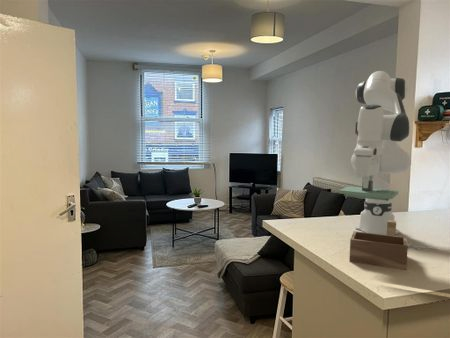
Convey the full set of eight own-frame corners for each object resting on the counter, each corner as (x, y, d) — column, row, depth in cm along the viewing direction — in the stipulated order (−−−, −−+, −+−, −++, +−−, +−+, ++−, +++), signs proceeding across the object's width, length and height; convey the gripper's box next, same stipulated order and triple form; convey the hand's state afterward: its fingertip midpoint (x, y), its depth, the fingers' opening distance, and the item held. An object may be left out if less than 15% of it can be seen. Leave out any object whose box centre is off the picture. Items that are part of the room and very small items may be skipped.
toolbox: (352, 253, 137) (353, 231, 136) (404, 261, 129) (406, 237, 129) (349, 264, 126) (350, 239, 125) (406, 272, 119) (407, 246, 118)
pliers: (435, 252, 136) (393, 245, 144) (435, 256, 136) (392, 249, 144) (437, 246, 144) (396, 239, 152) (437, 250, 144) (396, 243, 152)
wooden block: (385, 252, 139) (387, 220, 138) (394, 253, 138) (396, 220, 136) (385, 255, 136) (387, 221, 135) (394, 256, 135) (396, 222, 134)
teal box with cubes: (348, 191, 141) (349, 177, 141) (398, 196, 131) (398, 181, 130) (338, 196, 131) (339, 180, 131) (391, 201, 121) (392, 185, 121)
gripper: (367, 148, 140) (365, 183, 141) (352, 150, 123) (350, 189, 125) (384, 148, 136) (382, 184, 138) (371, 151, 120) (369, 191, 121)
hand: (367, 187), depth 131 cm, fingers closed on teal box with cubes, 3 cm apart
